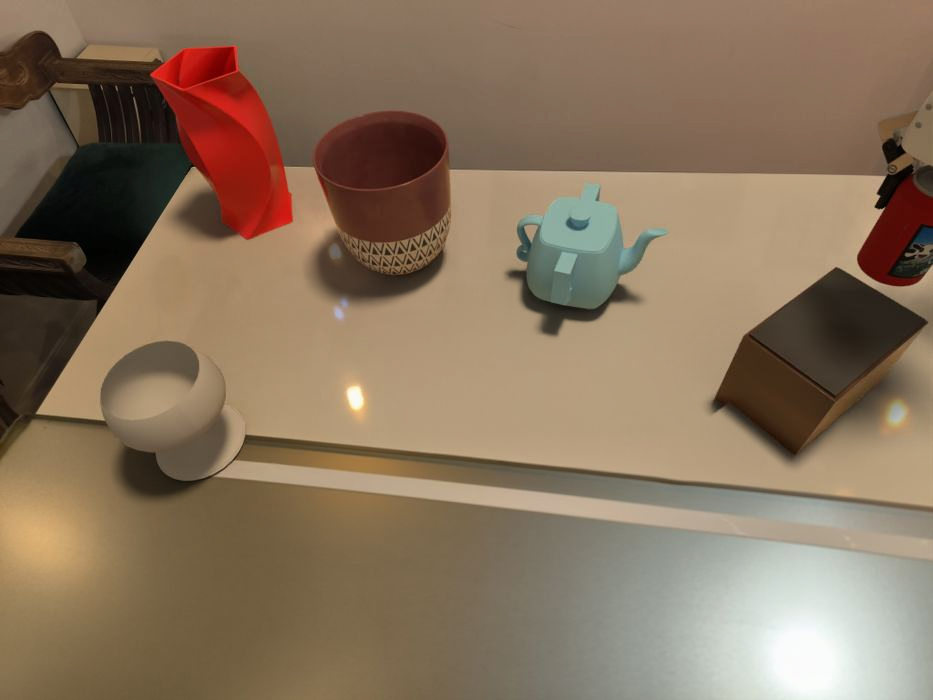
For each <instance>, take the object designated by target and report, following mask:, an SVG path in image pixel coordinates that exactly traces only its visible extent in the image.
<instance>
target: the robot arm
mask: <svg viewBox="0 0 933 700" xmlns="http://www.w3.org/2000/svg"><path fill="white" fill-rule="evenodd" d="M902 128H906V131H905V132H904V135H901V129H902ZM877 130H878V134H879V138H880V141H881V142H882V145H881V150H882V152H883V155H884V158H885V161H886V164H887V165H886V166H885V171H886V173H887V174H886V176H885V178H884V179H883V181H882V183H881V184H880V186H879V188H878V190H877V192H876V195H877V196H879V197H878V199H877V201H876V203H875V205H874V206H873V208H875V209H877V210H878V211H880V210H884V209H885V207H886V205H887V204H888V202H889V200H890V199H891V197H892V195H893V194H894V192H895V191H896V189H897V187H898V186H899V184H900V183H901V181H902V180H904V179H905V178H907V177H908V176H910V175H912V174H913V173H914V172H915V169H914V168H915V166H914V165H913V164H914V163H915V162H917V161H919V162H922V163H924V164H926V165H930V166H933V90H932V91H931V92H930V94H929V95H928V96H927V98H926V100H925V101H924V102H923V104H922V105H921V106H920V107H916V108H912V109H909V110H906V111H902V112H899V113H895V114H890V115H888V116H886V117H885V118H883V119H881V120H880V121H878V122H877Z"/></svg>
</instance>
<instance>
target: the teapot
mask: <svg viewBox="0 0 933 700" xmlns="http://www.w3.org/2000/svg"><path fill="white" fill-rule="evenodd" d="M600 198H601V184H596V183H590V182H586V183H585V185H584V188H583V191H582V193H581V196H580V197H573V196H572V197H571V196H561V197H558V198H556V199H554V200H553V202H552V203H551V204H550V206H549V207H548V209H547V210H546V212H545V214H544V216H543V215H541V214H527V215H525V216H524V217H522V218H520V220H519V221H518V223H517V226H516V234H517V237H518V240H519V242H520V245H519V246H518V247H517V249H516V252H515V253H516V257H517V258H518V259H519V260H520V261H521V262H523V263H526V282H527V285H528V288H529V290H530V291H531V292H532V294H533V295H534V296H535V297H536V298H538V299H540V301H546V302H550V303H553V304H558V305H561V306H569V307H573V308H579V309H586V310H591V311H592V310H596V309H597V308H599V307H600V306H602V304H604V303H605V302H606V301H607V300H608V299H609V297H610V296H611V295H612V293H613V292H614V290H615V289H616V286H617V285H618V282H619V280H620V278H621V276H624V275H628V274H629V273H631V272H633V271H634V270H635V269H636V268H638V266H639V265H640V263H641V261H642V259H643V257H644V255H645V252H646V250H647V248H648V246H649V245H650V244H651V242H652V241H654V240H655V239H657V238H660V237H664V236H666V235H667V234H669V232H670V231H669V230H668V229H666V228H661V227H653V228H648V229H646V230H644V231H642V232H641V233H640V234H639V236H638V237H637V239H636V240H635V243H634V244H633V245H632V246H631V247H627V248H624V237H623V236H624V235H623V230H622V229H623V228H622V224H621V221H620V217H619V216H620V215H619V214H618V210H617V208H616V207H615V206H614V205H612V204H610V203H607V202H605V201H604V202H603V201H600ZM531 225H532V226H537V229H536V231H535V232H534V234H533V235H534V236H533V238H532V241H531V239H530V238H529V237H528V234H527V232H526V229H525V227H526V226H531Z"/></svg>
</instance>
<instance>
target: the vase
mask: <svg viewBox="0 0 933 700" xmlns="http://www.w3.org/2000/svg"><path fill="white" fill-rule="evenodd" d="M149 76H150V77H151V79H152V80H153V82H154V83H155V85H156V86H157V87H158V90H159V91H160V92H161V94H162V96H163V97H164V99H165V100H166V102H167V103H168V105H169V107H170V108H171V110H172V111H173V113H174V115H175V122H176V127H177V132H178V136H179V139H180V143H181V146H182V148H183V150H184V152H185V154H186V156H187V157H188V159H189V161H190V162H191V164H192V165H193V166H194V167H195V169H196V170H197V171H198V172H199V173H200V175H201V176H202V177H203V178H204V180H205V181H206V182H207V184H208V185H209V186H210V188H211V190H212V191H213V193H214V195H215V196H216V198H217V201H218V203H219V206H220V212H221V217H220V222H221V223H223V224H224V225H226V226H227V227H229V228H230V229H232V230H233V231H234V232H236V233H237V234H238V235H239V236H241V237H243V238H244V239H245V240H250V239H253V238H255V237H257V236H260V235H263V234H265V233H268V232H271V231H273V230H275V229H278V228H281V227H283V226H287V225H288V224H290V223H293V221H294V219H293V218H294V217H293V199H292V193H291V192H290V191H289V184H288V179H287V174H286V169H285V164H284V160H283V156H282V152H281V147H280V143H279V141H278V137H277V134H276V131H275V127H274V125H273V122H272V120H271V117H270V114H269V113H268V110H267V108H266V106H265V104H264V102H263V100H262V98H261V96H260V94H259V93H258V92H257V89H256V88H255V87H254V85H253V84H252V83H251V81H250V80H249V79H248V78H247V77H246V75H244V73H243V72H242V70H241V68H240V66H239V62H238V46H237V45H228V46H227V45H226V46H224V45H223V46H222V45H221V46H203V47H202V46H199V47H184V48H183V49H181V50H180V51H179V52H177V53H176V54H175V55H174V56H172V57H171V58H169V59H167V60H166V62H164V63H163V64H162V65H160V66H159V67H158V68H157V69H155V70H154V71H152V72H151V73H150V74H149Z"/></svg>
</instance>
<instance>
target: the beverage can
mask: <svg viewBox="0 0 933 700" xmlns="http://www.w3.org/2000/svg"><path fill="white" fill-rule="evenodd" d="M856 262H857V265H858V266H859V269H860V270H861V271H862V273H864V274H865V275H866V276H867V277H868V278H870V279H872V280H873V281H875V282H876V283H877V282H878V283H879V284H883V285H887V286H891V287H897V288H898V287H899V288H900V287H901V288H903V287H910V286H913V285H916V284H918V283H919V282H920V281H921V280H923V278H924V277H925V276H926V275H927V273H928V272H929V270H930V269H931V268H932V267H933V166H930V165H928V164H926V165H923V166H922V167H919V168H918V169H916V171H914V172H913V173H912V175H910V176H908V177H907V178H905V179H904V180H902V181H901V183H900V184H899V186H898V187H897V189H896V191H895V192H894V194H893V195H892V197H891V199H890V200H889V202H888V204H887V205H886V207H885V208H883V209H882V212H881V213H880V215H879V217H878V218H877V220H876V222H875V224H874V225H873V227H872V228H871V230H870V232H869V234H868V235H867V237H866V239H865V241H864V242H863V244H862V246H861V247H860V250H859V251H858V253H857V255H856Z"/></svg>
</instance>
